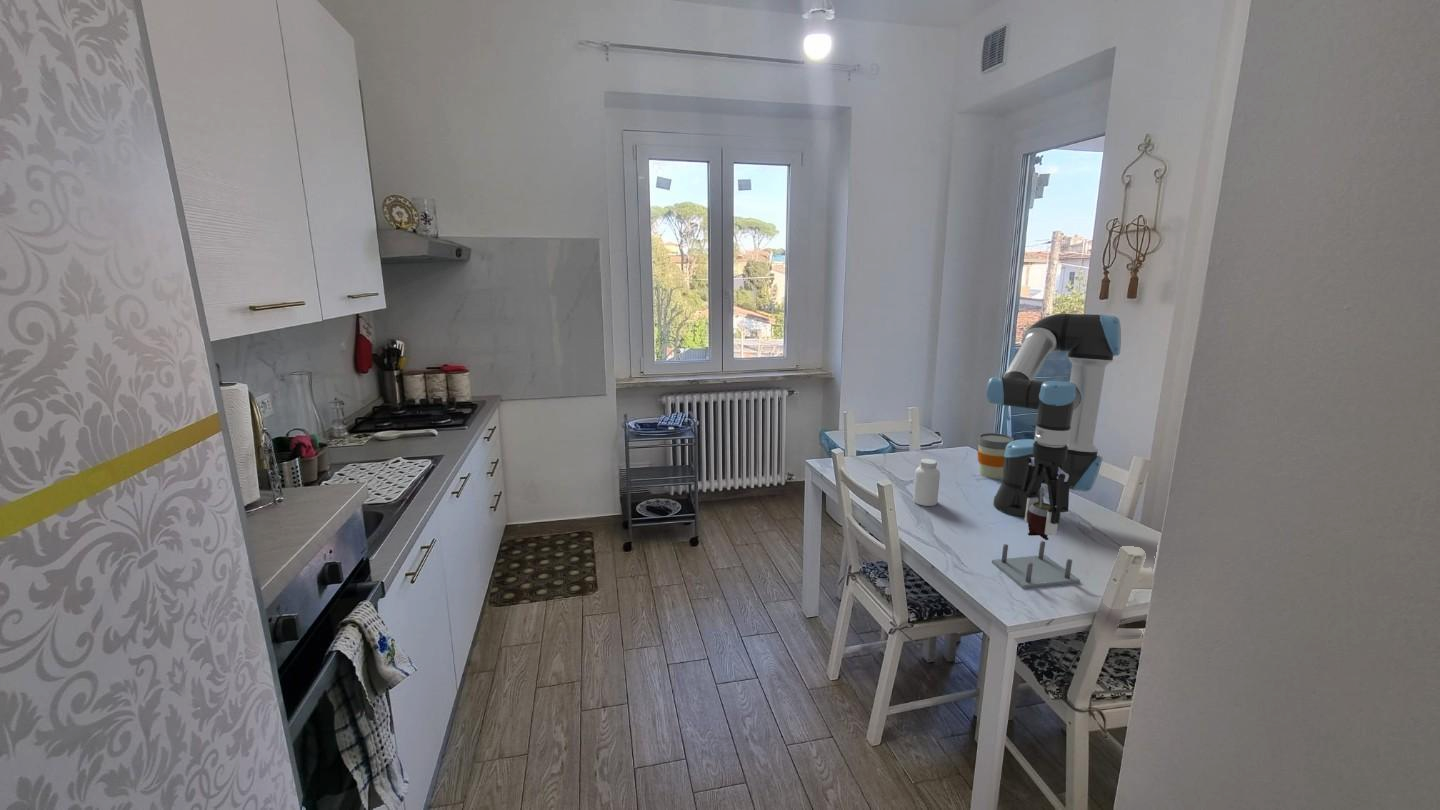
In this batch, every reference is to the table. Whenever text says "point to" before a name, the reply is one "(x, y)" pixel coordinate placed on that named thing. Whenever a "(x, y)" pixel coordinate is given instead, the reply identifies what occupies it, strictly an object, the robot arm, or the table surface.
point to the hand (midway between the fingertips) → (1039, 527)
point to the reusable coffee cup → (992, 454)
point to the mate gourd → (1038, 517)
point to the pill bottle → (926, 483)
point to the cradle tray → (1035, 569)
